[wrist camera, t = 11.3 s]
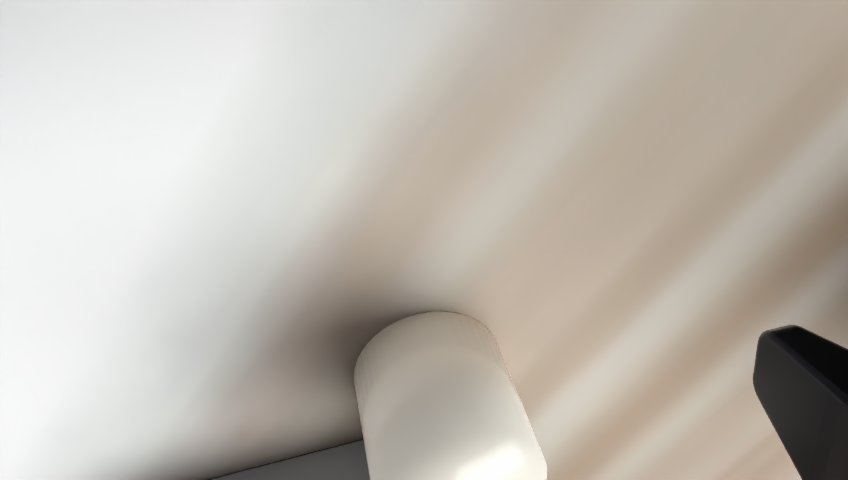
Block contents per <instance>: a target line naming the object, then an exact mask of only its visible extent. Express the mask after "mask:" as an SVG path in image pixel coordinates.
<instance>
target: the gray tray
mask: <svg viewBox="0 0 848 480" xmlns="http://www.w3.org/2000/svg"><path fill="white" fill-rule="evenodd" d="M211 480H370V475H369V469H368V463H367V457H366V451H365V445H364V440H361V441H357V442H353V443H349V444H345V445H342V446H338V447H334V448H330V449H326V450H322V451H318V452H315V453H311V454H307V455H303V456H299V457H295V458H292V459H288V460H284V461H280V462H276V463H272V464H268V465H265V466H261V467H257V468H253V469H249V470H245V471H242V472H238V473H234V474H230V475H226V476H222V477H218V478H215V479H211Z"/></svg>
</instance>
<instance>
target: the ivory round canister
mask: <svg viewBox="0 0 848 480" xmlns="http://www.w3.org/2000/svg"><path fill="white" fill-rule="evenodd" d="M354 385H355V391H356V397H357V403H358V409H359V415H360V421H361V427H362V433H363V439H364V445H365V451H366V457H367V463H368V469H369V475H370V480H546V478H547V465H546V461H545V458H544V456H543V454H542V451H541V449H540V446H539V444H538V441H537V439H536V437H535V434H534V432H533V429H532V427H531V425H530V422H529V420H528V417H527V415H526V412H525V410H524V408H523V405H522V403H521V400H520V398H519V396H518V393H517V391H516V388H515V386H514V383H513V381H512V379H511V376H510V374H509V371H508V369H507V367H506V364H505V362H504V359H503V357H502V355H501V352H500V350H499V347H498V345H497V342H496V340H495V338H494V336H493V335H492V333H491V332H490V331H489V330H488V329H487V328H486V327H485V326H484V325H483V324H481V323H480V322H479V321H477V320H475V319H473V318H471V317H468V316H466V315H463V314H458V313H453V312H441V311H435V312H425V313H420V314H415V315H412V316H409V317H406V318H403V319H401V320H398V321H396V322H394V323H393V324H391V325H389V326H387V327H386V328H384V329H383V330H381V331H380V332H379V333H377V334H376V335H375V336H374V337H373V338H372V339H371V340H370V341H369V342H368V343H367V344H366V346H365V347H364V349H363V350H362V351H361V353H360V355H359V357H358V359H357V362H356V365H355V370H354Z"/></svg>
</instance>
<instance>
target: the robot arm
mask: <svg viewBox="0 0 848 480" xmlns="http://www.w3.org/2000/svg"><path fill="white" fill-rule="evenodd" d="M753 384H754V389H755V392H756V394H757V396H758V399H759V400H760V402H761V404H762V406H763V408H764V410H765V412H766V413H767V415H768V417H769V419H770V421H771V423H772V425H773V426H774V428H775V430H776V432H777V434H778V436H779V437H780V439H781V441H782V443H783V445H784V447H785V449H786V450H787V452H788V454H789V456H790V458H791V460H792V462H793V463H794V465H795V467H796V469H797V471H798V473H799V475H800V476H801V478H802V480H848V349H846V348H844V347H842V346H840V345H838V344H836V343H834V342H831V341H829V340H827V339H825V338H823V337H821V336H819V335H817V334H815V333H813V332H811V331H808V330H806V329H804V328H802V327H800V326H796V325H787V326H783V327H779V328H775V329H771V330H767V331H765V332H763V333H762V334H761V335H760V337H759V340H758V345H757V352H756V359H755V366H754V373H753Z"/></svg>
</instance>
